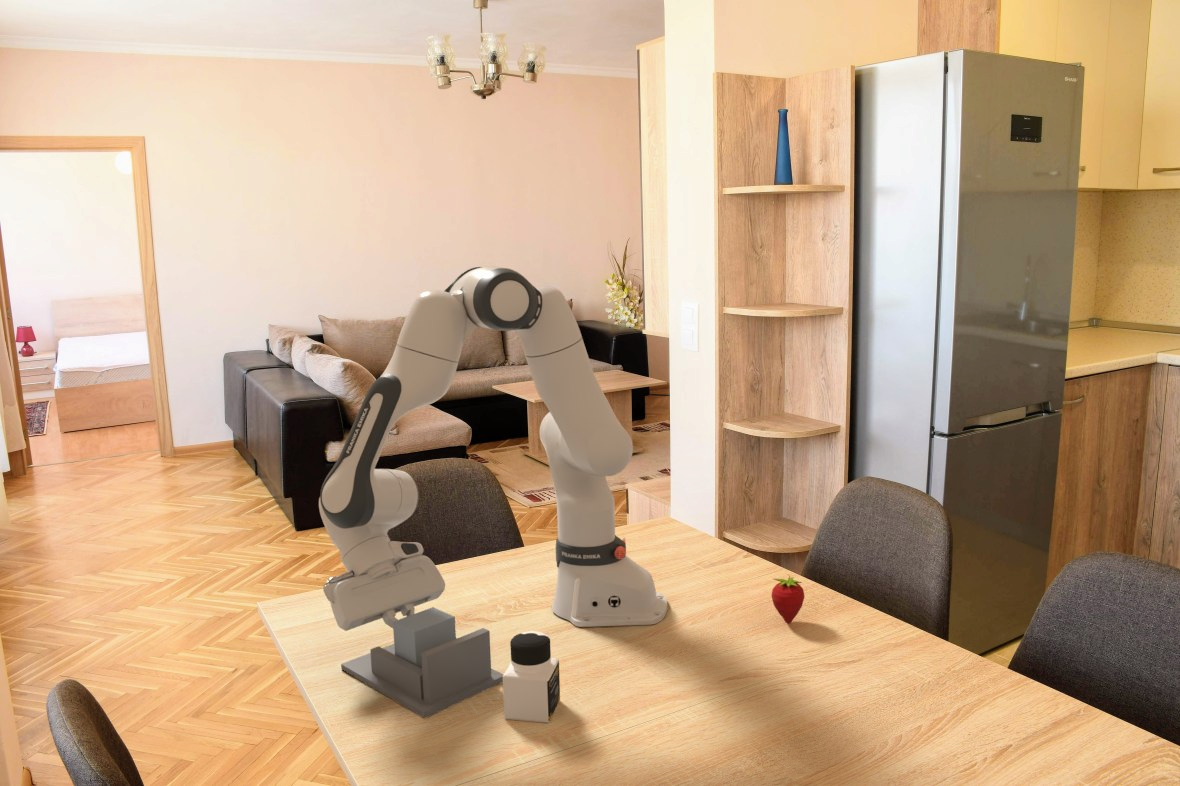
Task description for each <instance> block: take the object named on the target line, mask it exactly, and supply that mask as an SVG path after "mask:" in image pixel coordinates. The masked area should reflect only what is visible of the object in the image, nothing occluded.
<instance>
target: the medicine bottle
mask: <svg viewBox="0 0 1180 786" xmlns="http://www.w3.org/2000/svg"><path fill="white" fill-rule="evenodd" d="M509 645H510V664H509V665H508V666H507V669H506V670H505V672H504V675H503V682H502V691H503V692H502V694H503V695H502V696H503V715H504V719H505V720H509V721H512V720H513V721H520V722H522V721H523V722H533V723H534V722H535V723H543V724H544V723H545V724H546V723H547V724H548V723H550V722H551V721H552V718H553V716H554V714H555V712H556V710H557V707H558V706H559V703H560V701H561V685H560V660H559V659H558V658H557V657H556V658H555V657H552V656H551V655H552V653H551V639H550V637H549V636H548V635H547V634H546V633H543V632H541V631H535V630H533V631H532V630H530V631H529V630H528V631H523V632H520V633H518V634H516V635H514V636H513V637H512V638H511V640H510V642H509Z"/></svg>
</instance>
